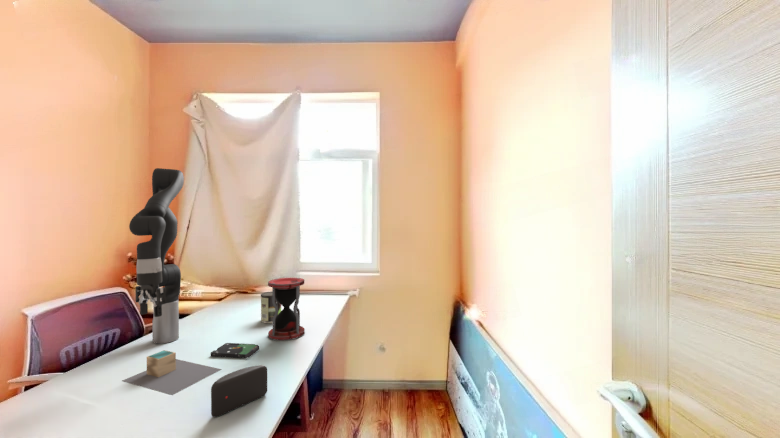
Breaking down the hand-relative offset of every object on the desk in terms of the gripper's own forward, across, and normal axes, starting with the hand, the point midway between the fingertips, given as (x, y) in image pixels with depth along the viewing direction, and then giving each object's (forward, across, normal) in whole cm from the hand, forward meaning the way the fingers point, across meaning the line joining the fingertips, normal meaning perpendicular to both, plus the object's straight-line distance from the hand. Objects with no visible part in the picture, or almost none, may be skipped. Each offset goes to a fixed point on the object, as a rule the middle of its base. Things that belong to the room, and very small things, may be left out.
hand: (151, 315), depth 121 cm
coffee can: (+19, -1, +59) cm, 62 cm away
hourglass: (+20, +21, +46) cm, 55 cm away
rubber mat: (+19, +14, -1) cm, 24 cm away
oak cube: (+18, +8, -2) cm, 20 cm away
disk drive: (+20, +18, +21) cm, 34 cm away
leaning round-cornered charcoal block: (+21, +50, -4) cm, 54 cm away
